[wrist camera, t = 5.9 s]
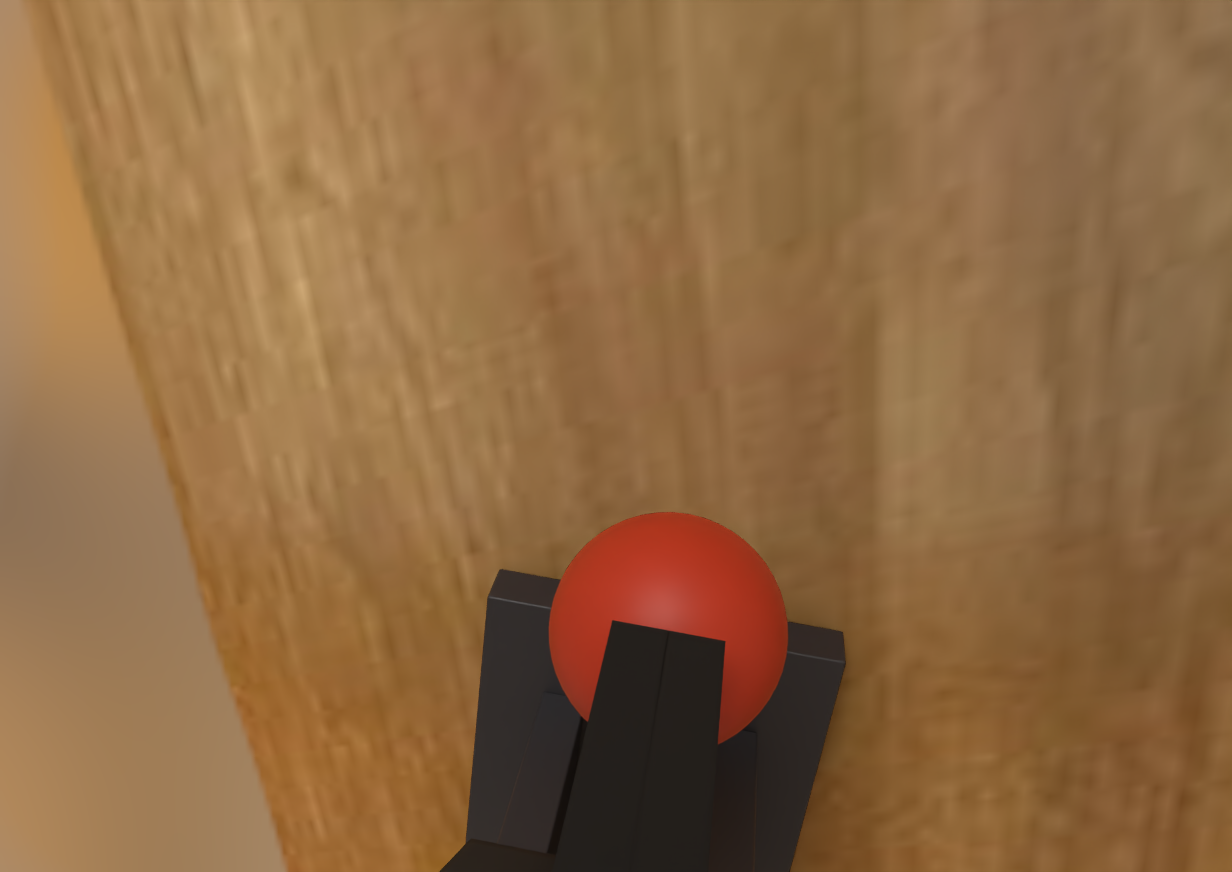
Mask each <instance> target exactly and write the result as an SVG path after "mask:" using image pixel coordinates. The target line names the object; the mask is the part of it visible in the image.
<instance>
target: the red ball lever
mask: <svg viewBox="0 0 1232 872" xmlns="http://www.w3.org/2000/svg"><path fill="white" fill-rule="evenodd" d="M612 620H615V621H620V622H626V623H631V624H637V625H642V626H648V627H653V628H658V629H664V630H669V631H675V632H680V633H685V634H691V635H696V636H702V637H707V638H712V639H718V640H723V641H726V643H725V656H724V669H723V682H722V695H721V708H720V722H719V735H718V744H720V743H722V742H724V741H726V740H727V739H729V738H731V737H732V736H734V735H736V734H737V733H738V732H740V731H741V730H742V729H743V728H745V727H746V726H747V725H748V724H749V723H750V722H751V721H752V720H753V719H754V718H755V717H756V716H757V715H758V714H759V713H760V712H761V710H762V709H763V708H764V706H765V705H766V704H767V702H768V701H769V700H770V698H771V696H772V694H773V692H774V690H775V689H776V687H777V685H778V682H779V679H780V677H781V674H782V672H783V668H784V664H785V660H786V655H787V646H788V623H787V617H786V611H785V605H784V602H783V599H782V595H781V592H780V589H779V587H778V585H777V583H776V580H775V578H774V576H773V574H772V573H771V571H770V570H769V568H768V566H767V565H766V563H765V562H764V561H763V559H762V558H761V557H760V556H759V554H758V553H757V552H756V551H755V550H754V549H753V548H752V547H751V546H750V545H749V544H748V543H747V542H746V541H745V540H743V539H742V538H741V537H739V536H738V535H737V534H735V533H734V532H733V531H731V530H729V529H727V528H726V527H724V526H722V525H720V524H718V523H716V522H713V521H711V520H708V519H706V518H703V517H699V516H695V515H690V514H684V513H675V512H659V513H651V514H644V515H640V516H636V517H633V518H629V519H626V520H624V521H622V522H620V523H617V524H615V525H613V526H611V527H609V528H608V529H606V530H605V531H603V532H601V533H600V534H598V535H597V536H596V537H595V538H593V539H592V540H591V541H590V542H588V543H587V544H586V545H585V546H584V547H583V549H582V550H581V551H580V552H579V553H578V554H577V555H576V556H575V558H574V559H573V560H572V562H571V563H570V565H569V566H568V568H567V569H566V571H565V573H564V575H563V577H562V579H561V580H560V583H559V585H558V588H557V591H556V593H555V596H554V599H553V603H552V608H551V612H550V621H549V646H550V652H551V659H552V662H553V666H554V669H555V673H556V675H557V678H558V680H559V682H560V685H561V687H562V689H563V691H564V692H565V694H566V696H567V697H568V699H569V701H570V702H571V704H572V705H573V706H574V708H575V709H576V710H577V711H578V713H579V714H580V715H581V716H582V717H583V718H584V719H585V720H586V721H587V722H588V719H589V715H590V711H591V707H592V703H593V699H594V694H595V690H596V686H597V682H598V678H599V673H600V669H601V665H602V661H603V657H604V653H605V648H606V644H607V640H608V636H609V632H610V628H611V623H612Z"/></svg>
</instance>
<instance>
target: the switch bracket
mask: <svg viewBox="0 0 1232 872" xmlns="http://www.w3.org/2000/svg"><path fill="white" fill-rule="evenodd" d="M559 583H560V580H557V579H552V578H547V577H541V576H536V575H530V574H525V573H519V572H514V571H508V570H503V569H500V570H499V572H498V574H497V577H496V579H495V581H494V584H493V586H492V588H491V591H490V593H489V595H488V599H487V610H486V621H485V633H484V644H483V655H482V666H481V677H480V688H479V700H478V711H477V722H476V733H475V744H474V755H473V766H472V778H471V789H470V800H469V811H468V822H467V833H466V843H467V842H468V841H469V840H470V839H471V838H473V839H478V840H483V841H488V842H493V843H498V844H503V845H508V846H513V847H518V848H523V849H528V850H533V851H538V852H543V853H548V854H553V855H556V853H557V849H558V845H559V840H560V836H561V832H562V828H563V824H564V820H565V815H566V811H567V807H568V803H569V799H570V795H571V790H572V786H573V782H574V778H575V774H576V769H577V765H578V761H579V757H580V753H581V749H582V744H583V740H584V736H585V732H586V728H587V724H588V722H587V721H586V720H585V719H584V718H583V717H582V716H581V715H580V714H579V713H578V711H577V710H576V709H575V708H574V706H573V705H572V704H571V702H570V701H569V699H568V697H567V696H566V694H565V692H564V691H563V689H562V687H561V685H560V682H559V680H558V678H557V675H556V673H555V669H554V666H553V662H552V659H551V652H550V646H549V621H550V612H551V608H552V603H553V599H554V596H555V593H556V591H557V588H558V585H559ZM787 623H788V646H787V655H786V660H785V664H784V668H783V672H782V674H781V677H780V679H779V682H778V685H777V687H776V689H775V690H774V692H773V694H772V696H771V698H770V700H769V701H768V702H767V704H766V705H765V706H764V708H763V709H762V710H761V712H760V713H759V714H758V715H757V716H756V717H755V718H754V719H753V720H752V721H751V722H750V723H749V724H748V725H747V726H746V727H745V728H743V729H742V730H741V731H740V732H738V733H737V734H736V735H734V736H732V737H731V738H729V739H727V740H726V741H724V742H722V743H720V744H718V748H717V761H716V774H715V788H714V801H713V814H712V827H711V840H710V853H709V867H708V872H790V868H791V865H792V861H793V857H794V854H795V850H796V846H797V842H798V839H799V835H800V831H801V828H802V824H803V820H804V816H805V813H806V809H807V805H808V802H809V798H810V794H811V790H812V787H813V783H814V779H815V776H816V772H817V768H818V764H819V761H820V757H821V753H822V750H823V746H824V742H825V738H826V735H827V731H828V727H829V724H830V720H831V716H832V712H833V709H834V705H835V701H836V698H837V694H838V690H839V686H840V683H841V679H842V675H843V672H844V668H845V664H846V661H845V649H844V638H843V632H841V631H836V630H831V629H825V628H820V627H814V626H809V625H803V624H798V623H793V622H787Z"/></svg>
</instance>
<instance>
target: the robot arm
mask: <svg viewBox="0 0 1232 872" xmlns="http://www.w3.org/2000/svg"><path fill="white" fill-rule="evenodd" d="M725 643H726V641H723V640H718V639H712V638H707V637H702V636H696V635H691V634H685V633H680V632H675V631H669V630H664V629H658V628H653V627H648V626H642V625H637V624H631V623H626V622H620V621H615V620H612V623H611V628H610V632H609V636H608V640H607V644H606V648H605V653H604V657H603V661H602V665H601V669H600V673H599V678H598V682H597V686H596V690H595V694H594V699H593V703H592V707H591V711H590V715H589V719H588V724H587V728H586V732H585V736H584V740H583V744H582V749H581V753H580V757H579V761H578V765H577V769H576V774H575V778H574V782H573V786H572V790H571V795H570V799H569V803H568V807H567V811H566V815H565V820H564V824H563V828H562V832H561V836H560V840H559V845H558V849H557V853H556V855H553V854H548V853H543V852H538V851H533V850H528V849H523V848H518V847H513V846H508V845H503V844H498V843H493V842H488V841H483V840H478V839H473V838H471V839H470V840H469V841H468V842H467V843H466V844H465V845H464V846H463V847H462V849H461V850H460V851H459V852H458V853H457V854H456V855H455V856H454V857H453V858H452V859H451V860H450V861H449V862H448V863H447V864H446V865H445V866H444V867H443V868H442V869H441V870H440V872H708V867H709V853H710V840H711V827H712V814H713V801H714V788H715V774H716V761H717V748H718V735H719V722H720V708H721V695H722V682H723V669H724V656H725Z"/></svg>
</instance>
